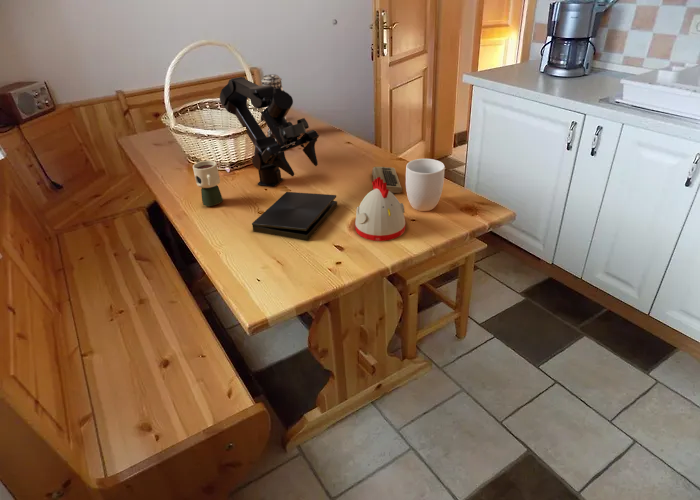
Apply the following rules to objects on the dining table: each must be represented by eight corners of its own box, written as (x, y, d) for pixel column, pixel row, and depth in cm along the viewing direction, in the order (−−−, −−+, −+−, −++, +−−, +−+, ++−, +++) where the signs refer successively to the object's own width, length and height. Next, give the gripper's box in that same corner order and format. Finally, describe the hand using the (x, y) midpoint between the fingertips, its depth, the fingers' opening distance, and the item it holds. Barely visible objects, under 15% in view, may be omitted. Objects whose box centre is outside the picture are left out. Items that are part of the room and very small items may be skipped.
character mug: (198, 199, 152) (189, 161, 145) (220, 194, 154) (212, 156, 147) (205, 213, 144) (195, 173, 136) (228, 207, 146) (220, 168, 139)
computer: (402, 193, 149) (402, 183, 148) (376, 195, 149) (376, 185, 147) (395, 173, 163) (395, 164, 161) (371, 175, 162) (371, 166, 161)
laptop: (337, 206, 144) (336, 200, 143) (307, 241, 128) (307, 234, 127) (287, 199, 149) (287, 193, 148) (253, 231, 133) (252, 225, 132)
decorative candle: (280, 142, 193) (272, 79, 180) (263, 139, 197) (254, 77, 184) (294, 136, 199) (287, 74, 186) (277, 132, 204) (269, 72, 190)
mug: (402, 193, 150) (403, 154, 143) (437, 192, 149) (439, 152, 142) (406, 215, 137) (407, 174, 130) (444, 214, 137) (448, 172, 130)
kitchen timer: (368, 245, 124) (367, 194, 116) (347, 222, 135) (345, 174, 127) (414, 233, 129) (416, 182, 121) (390, 212, 140) (391, 164, 131)
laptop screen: (336, 197, 142) (336, 194, 142) (306, 231, 126) (306, 228, 126) (287, 194, 148) (286, 191, 148) (252, 225, 132) (251, 223, 132)
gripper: (262, 119, 129) (292, 168, 129) (313, 103, 140) (340, 148, 140) (249, 139, 138) (277, 185, 138) (298, 122, 149) (323, 164, 149)
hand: (305, 170), depth 141 cm, fingers open, 9 cm apart
